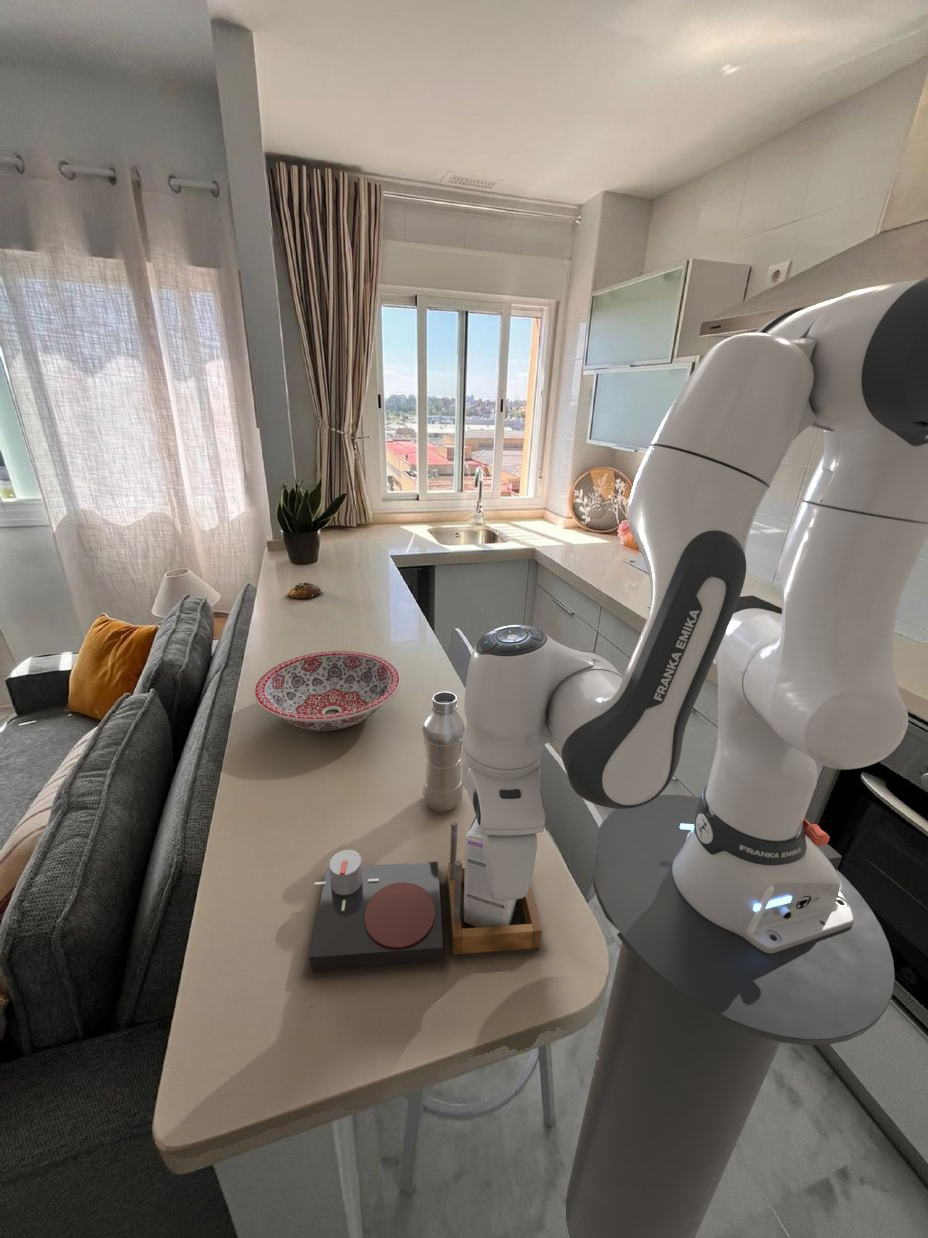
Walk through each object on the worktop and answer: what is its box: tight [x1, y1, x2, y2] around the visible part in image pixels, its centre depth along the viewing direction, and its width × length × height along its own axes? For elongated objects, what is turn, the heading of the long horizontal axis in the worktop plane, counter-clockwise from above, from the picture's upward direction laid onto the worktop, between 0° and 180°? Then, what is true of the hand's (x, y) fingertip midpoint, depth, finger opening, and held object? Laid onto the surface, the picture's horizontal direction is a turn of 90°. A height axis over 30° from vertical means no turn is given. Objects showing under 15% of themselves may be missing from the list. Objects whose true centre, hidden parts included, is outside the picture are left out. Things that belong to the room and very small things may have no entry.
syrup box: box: [463, 815, 519, 928], centre depth 61 cm, size 6×6×14 cm
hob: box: [308, 861, 444, 973], centre depth 63 cm, size 16×14×3 cm
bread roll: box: [287, 582, 322, 599], centre depth 176 cm, size 11×11×5 cm
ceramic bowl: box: [253, 650, 401, 732], centre depth 104 cm, size 29×29×8 cm
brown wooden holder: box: [446, 820, 543, 955], centre depth 62 cm, size 10×10×12 cm
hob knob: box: [328, 849, 363, 895], centre depth 64 cm, size 4×4×4 cm
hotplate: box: [364, 882, 435, 949], centre depth 60 cm, size 9×9×1 cm
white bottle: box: [422, 691, 466, 812], centre depth 78 cm, size 6×7×20 cm
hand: (490, 858), depth 60 cm, fingers open, 8 cm apart
